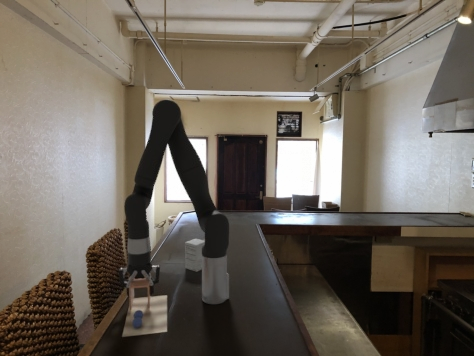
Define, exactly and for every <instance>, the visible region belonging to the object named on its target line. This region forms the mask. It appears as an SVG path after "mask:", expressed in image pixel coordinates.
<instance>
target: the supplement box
mask: <svg viewBox="0 0 474 356" xmlns="http://www.w3.org/2000/svg"><path fill="white" fill-rule="evenodd" d="M204 244H205V241H204V239H199V238H193V239H191V240H188V241H185V242H184V255H185V257H184V261H185V262H184V263H185V265H184V266H185V269H187V270H190V271H194V272H199V271H202V247H203V246H204Z"/></svg>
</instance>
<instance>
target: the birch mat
mask: <svg viewBox="0 0 474 356" xmlns="http://www.w3.org/2000/svg"><path fill="white" fill-rule="evenodd" d="M137 310H141V311H142V312H143V318H142V325H141V326H140V327H139V328H135V327H133V325H132V322H133V320H134V313H135V312H136V311H137ZM159 333H168V295H156V296H153V295H152V296H151V299H150V308H148V296H144V297H134V300H133V304H132V309H131V310H130V303H129V306H128V310H127V313H126V317H125V323H124V327H123V331H122V335H121V337H122V338H125V337H134V336H142V335H150V334H151V335H152V334H159Z"/></svg>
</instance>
